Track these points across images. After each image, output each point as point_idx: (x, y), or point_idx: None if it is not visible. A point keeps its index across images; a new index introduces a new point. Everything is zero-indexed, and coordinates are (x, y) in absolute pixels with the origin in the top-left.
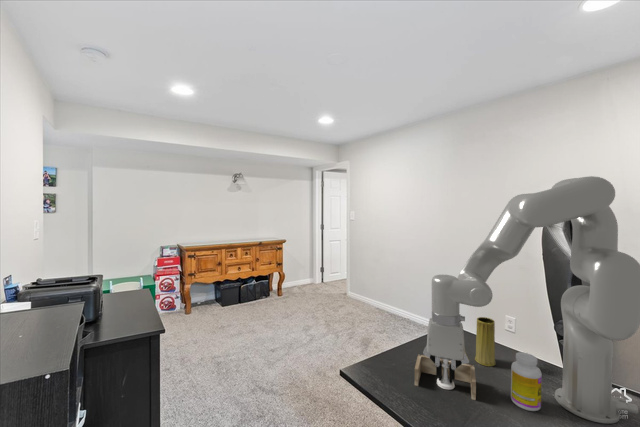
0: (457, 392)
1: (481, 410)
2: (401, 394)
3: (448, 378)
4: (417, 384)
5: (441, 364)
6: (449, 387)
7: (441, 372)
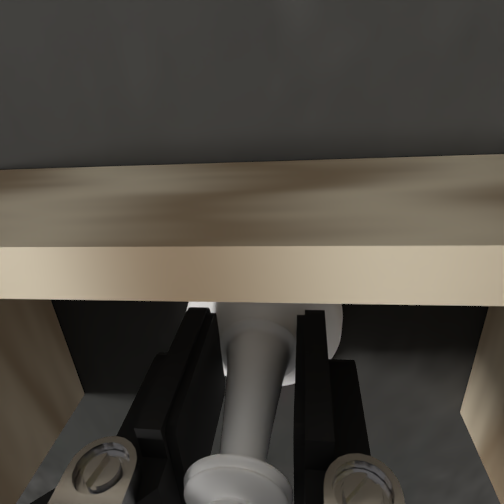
0: (360, 372)
1: None
2: (41, 475)
3: (286, 367)
4: (74, 404)
5: (178, 459)
6: None
7: (208, 416)
